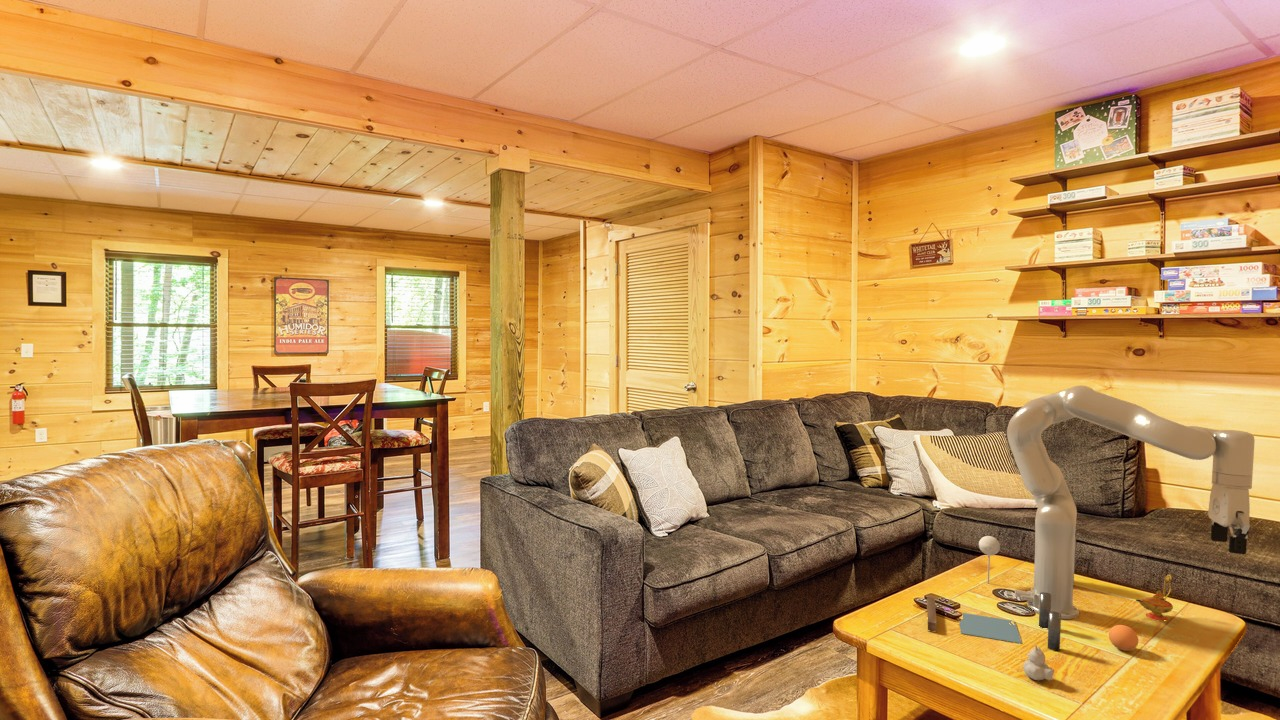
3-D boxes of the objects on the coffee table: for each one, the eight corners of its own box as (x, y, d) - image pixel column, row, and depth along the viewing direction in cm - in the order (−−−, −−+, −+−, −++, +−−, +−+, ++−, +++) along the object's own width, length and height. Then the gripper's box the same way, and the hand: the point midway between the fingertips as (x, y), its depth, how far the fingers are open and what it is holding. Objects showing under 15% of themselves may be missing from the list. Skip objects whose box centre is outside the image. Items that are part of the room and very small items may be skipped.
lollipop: (990, 588, 204) (992, 540, 203) (973, 581, 209) (974, 535, 208) (1003, 584, 207) (1004, 537, 206) (985, 578, 212) (987, 532, 211)
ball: (1111, 652, 164) (1112, 628, 163) (1105, 641, 169) (1106, 619, 169) (1141, 657, 161) (1142, 633, 161) (1133, 646, 167) (1134, 623, 167)
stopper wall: (927, 631, 174) (928, 622, 174) (927, 605, 191) (927, 596, 191) (936, 632, 174) (936, 623, 174) (934, 606, 190) (934, 597, 190)
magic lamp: (1122, 620, 182) (1124, 581, 182) (1155, 607, 191) (1157, 570, 190) (1150, 630, 176) (1152, 589, 176) (1184, 616, 185) (1186, 578, 184)
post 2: (1048, 649, 165) (1049, 614, 164) (1046, 645, 167) (1047, 610, 167) (1060, 651, 164) (1062, 616, 163) (1058, 647, 166) (1060, 612, 166)
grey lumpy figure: (1030, 670, 155) (1032, 636, 155) (1060, 683, 149) (1061, 649, 149) (1017, 675, 152) (1018, 642, 152) (1046, 689, 147) (1047, 654, 146)
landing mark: (960, 633, 173) (960, 632, 173) (957, 612, 186) (958, 611, 186) (1021, 643, 168) (1021, 643, 168) (1014, 621, 181) (1014, 620, 181)
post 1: (1039, 628, 177) (1040, 595, 176) (1038, 624, 179) (1039, 591, 179) (1050, 629, 176) (1052, 596, 175) (1049, 625, 178) (1050, 593, 178)
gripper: (1198, 471, 175) (1194, 535, 175) (1229, 486, 158) (1225, 556, 159) (1233, 474, 172) (1230, 538, 173) (1269, 489, 156) (1264, 560, 157)
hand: (1227, 547), depth 166 cm, fingers open, 9 cm apart
